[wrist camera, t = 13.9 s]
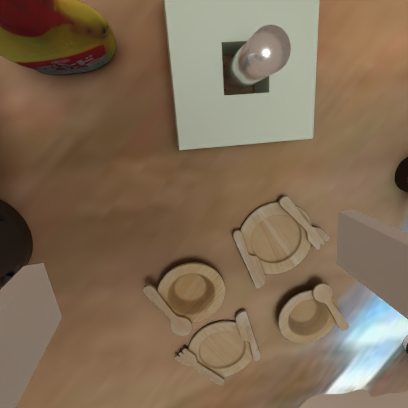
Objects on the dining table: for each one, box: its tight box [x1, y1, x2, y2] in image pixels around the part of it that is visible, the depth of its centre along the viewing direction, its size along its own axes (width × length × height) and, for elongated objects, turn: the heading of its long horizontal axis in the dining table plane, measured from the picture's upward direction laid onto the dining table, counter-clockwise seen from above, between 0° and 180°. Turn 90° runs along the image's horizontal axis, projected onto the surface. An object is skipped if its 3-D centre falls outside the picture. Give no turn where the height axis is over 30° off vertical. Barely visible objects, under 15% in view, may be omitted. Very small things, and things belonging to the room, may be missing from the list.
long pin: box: [223, 25, 291, 92], centre depth 31 cm, size 4×4×14 cm
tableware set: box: [143, 196, 349, 385], centre depth 47 cm, size 35×29×4 cm
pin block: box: [163, 0, 319, 150], centre depth 34 cm, size 18×18×6 cm
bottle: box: [0, 0, 116, 75], centre depth 24 cm, size 12×6×20 cm, turn 90°
